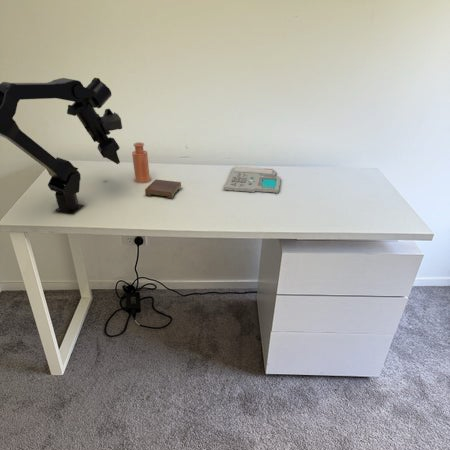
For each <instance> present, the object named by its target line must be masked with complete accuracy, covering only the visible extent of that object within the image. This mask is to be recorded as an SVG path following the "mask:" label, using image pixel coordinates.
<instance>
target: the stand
mask: <svg viewBox="0 0 450 450" xmlns="http://www.w3.org/2000/svg"><path fill="white" fill-rule="evenodd" d="M181 189H182V182H181V181H174V180H165V179H156V178H155V179H154V180H153V181H152V182H151V183H150V184H149V185H148V186H147V187H145V189H144V192H145V196H146V197H152V196H153V195H154V196H155V195H156V196H163V197H167V199H169V200H172V199H174V197H175V196H174V195H175V194H176V193H177V192H178V191H180V190H181Z"/></svg>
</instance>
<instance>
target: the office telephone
mask: <svg viewBox="0 0 450 450" xmlns="http://www.w3.org/2000/svg"><path fill="white" fill-rule="evenodd" d="M276 173H277V170H275V169H273V168H268V167H267V168H266V167H254V166H253V167H250V166H238V165H235V166H233V168H232V170H231V172H230V175H229V177H228V179H227V181H226V183H225V185H224V191H235V192H249V193H250V192H252V193H254V192H261V193H262V192H265V193H274V194H279V191H280V186H281V176H276Z"/></svg>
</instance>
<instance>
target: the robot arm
mask: <svg viewBox="0 0 450 450" xmlns="http://www.w3.org/2000/svg"><path fill="white" fill-rule="evenodd" d="M111 97H112V91H111V89H110V88H109V87H108V85H106V84H105V83H104V82H103V81H101V78H99V77H93V78H92V80H91V81H90V83H88V85H87V86H84V85H83V83H82V82H81V81H80V80H77V79H72V78H66V77H60V78H57V79H53V80H50V81H48V82H8V81H2V82H1V83H0V137H2V138H4V139H6V140H7V141H9V142H10V143H11V144H13V145H14V146H16V148H18V149H19V150H20V151H22V152H24V153H25V154H26V155H27V156H29V157H30V158H32V160H34V161H35V162H37V163H38V164H39V165H40V166H42V167H43V168H44V169H46V171H47V173H48V175H49V176H50V179H49V182H48V183H47V187H48V188H49V191H51V192H55V193H54V195H55V199H56V203H57V208H55V209H54V211H55V213H62V214H68V215H69V214H70V215H73V214H75V213H76V212H77V211H78V210H80V209H82V208H83V206H84V205H83V204H80V203H79V199H78V195H77V194H78V193H79V192H80V185H81V173H80V171H79V168H78V167H76V166H74V165H73V163H71V161H70V160H67V159H64V158H61V157H58V156H57V157H55V156H54V155H52V154H51V153H49V152H48V150H46V149H45V148H43V147H42V146H41V145H40V144H38V143H37V142H36V141H34V140H33V139H32V138H31V137H30V136H29V135H27V134H26V133H25V132H23V130H22V129H20V126H19V125H18V124H17V122H16V120H14V117H15V116H16V113H17V107H18V104H19V102H20V100H21V101H22V100H46V99H58V100H62V101H63V100H64V101H68V102H73V103H72V104H67V109H66V114H67V115H68V116H73V117H77V118H78V120H79V121H80V123H81V125H83V128H84V129H85V131H86V132H87V134H88V135H89V136H90V138H91V139H92V141H93V142H94V143H97V144H98V145H97V151H98V152H99V153H100V155H101V156H102V157H103V159H108V160H109V161H111V162H113V163H115V164H116V165H119V164H120V163H121V161H120V158H119V155H118V151H119V150H120V148H121V147H120V145H119V144H118V143H117V141H116V139H115V138H114V137H111V136H110V137H108V136H109V135H110V134H111V132H112V131H117V130H122V129H123V124H122V123H123V122H122V118H121V117H120V115H119V114H118V113H116V112H113V111H112V110H111V108H105V109H104V113H103V114H102V115H103V116H100V114H99V113H97V111H96V110H95V109H96V108H97V109H101V108H102V107H103V106H104V105H105V104H106V102H107V101H108V100H109V99H110V98H111Z"/></svg>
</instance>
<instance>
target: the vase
mask: <svg viewBox="0 0 450 450" xmlns="http://www.w3.org/2000/svg"><path fill="white" fill-rule="evenodd" d="M144 146H145V143H144V142H134V143H133V147H134V150H133V151H132V152H131V156H132V163H133V164H132V165H133V171H134V172H133V173H134V178H135V182H136V183H141V184H142V183H143V184H144V183H148V182H150V181H151V174H150V166H149V165H150V164H149V155H148V154H149V153H148V151H147V150H145V149H144Z"/></svg>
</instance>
